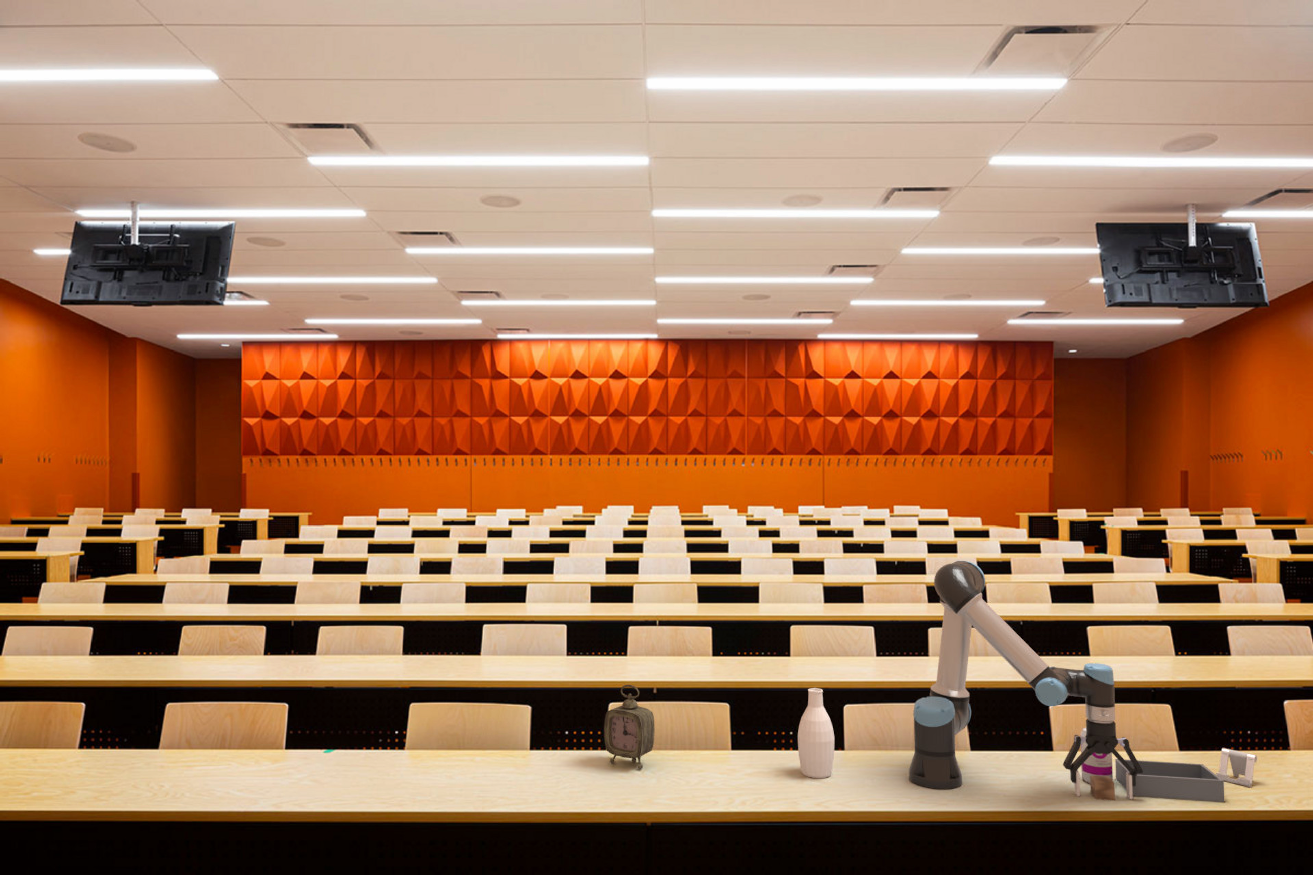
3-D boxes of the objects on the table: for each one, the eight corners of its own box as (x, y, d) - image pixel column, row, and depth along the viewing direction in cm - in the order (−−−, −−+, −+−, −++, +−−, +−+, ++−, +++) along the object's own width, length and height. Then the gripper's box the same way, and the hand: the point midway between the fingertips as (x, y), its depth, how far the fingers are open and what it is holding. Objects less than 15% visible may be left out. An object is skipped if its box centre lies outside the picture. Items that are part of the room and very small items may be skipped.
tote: (1131, 795, 245) (1131, 774, 245) (1115, 778, 259) (1115, 758, 259) (1224, 801, 240) (1223, 780, 240) (1203, 784, 254) (1202, 764, 254)
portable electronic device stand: (1216, 780, 258) (1215, 751, 258) (1226, 774, 263) (1225, 746, 263) (1249, 788, 251) (1248, 758, 251) (1259, 782, 256) (1258, 753, 256)
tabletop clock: (603, 764, 274) (603, 684, 275) (619, 756, 281) (619, 679, 283) (642, 772, 266) (642, 690, 267) (657, 764, 274) (657, 684, 275)
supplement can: (1116, 787, 252) (1115, 734, 253) (1086, 785, 254) (1084, 733, 254) (1107, 777, 260) (1106, 727, 261) (1078, 775, 261) (1077, 725, 262)
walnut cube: (1095, 799, 242) (1095, 781, 243) (1090, 793, 247) (1090, 775, 248) (1114, 800, 241) (1114, 782, 242) (1109, 794, 246) (1109, 776, 247)
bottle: (820, 765, 272) (819, 684, 273) (842, 776, 262) (841, 691, 263) (790, 770, 267) (790, 687, 268) (812, 782, 257) (811, 695, 258)
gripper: (1056, 721, 245) (1059, 797, 243) (1153, 725, 239) (1156, 803, 238) (1050, 714, 252) (1053, 788, 251) (1144, 718, 247) (1147, 794, 245)
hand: (1103, 795), depth 244 cm, fingers open, 13 cm apart
